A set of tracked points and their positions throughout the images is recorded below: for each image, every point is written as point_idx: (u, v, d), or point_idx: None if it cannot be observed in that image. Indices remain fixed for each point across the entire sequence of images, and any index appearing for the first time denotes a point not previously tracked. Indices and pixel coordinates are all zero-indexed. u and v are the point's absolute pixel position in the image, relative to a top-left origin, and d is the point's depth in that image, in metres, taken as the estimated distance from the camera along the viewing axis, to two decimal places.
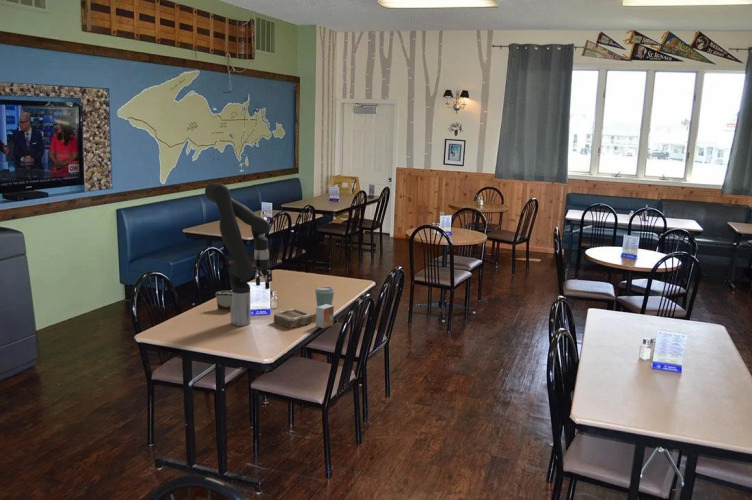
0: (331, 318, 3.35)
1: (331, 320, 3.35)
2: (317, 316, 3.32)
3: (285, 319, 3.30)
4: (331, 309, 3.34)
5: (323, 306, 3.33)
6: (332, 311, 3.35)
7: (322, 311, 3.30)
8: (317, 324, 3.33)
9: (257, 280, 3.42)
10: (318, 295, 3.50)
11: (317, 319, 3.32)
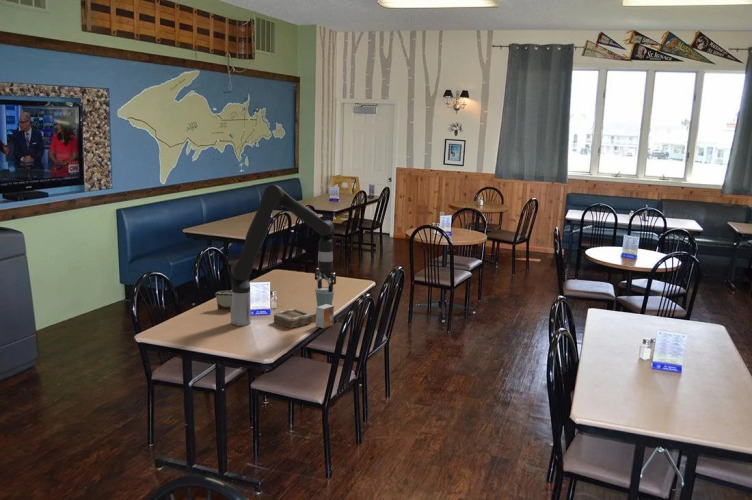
0: (331, 318, 3.35)
1: (331, 320, 3.35)
2: (317, 316, 3.32)
3: (285, 319, 3.30)
4: (331, 309, 3.34)
5: (323, 306, 3.33)
6: (332, 311, 3.35)
7: (322, 311, 3.30)
8: (317, 324, 3.33)
9: (319, 283, 3.34)
10: (318, 295, 3.50)
11: (317, 319, 3.32)
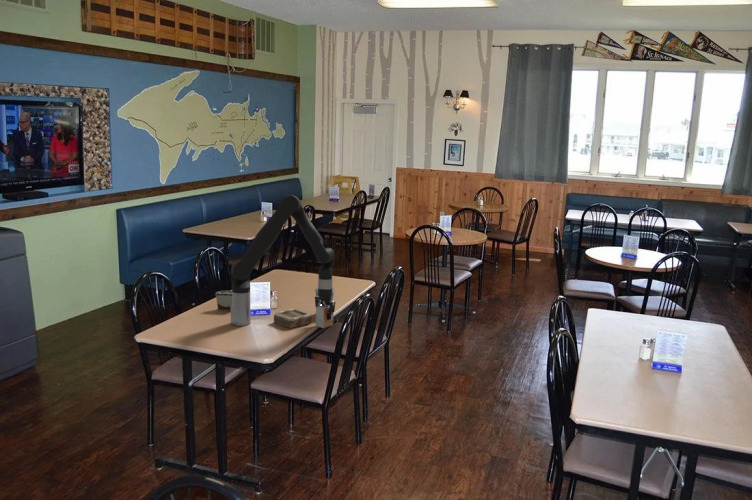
0: (331, 318, 3.35)
1: (331, 320, 3.35)
2: (317, 316, 3.32)
3: (285, 319, 3.30)
4: None
5: (323, 306, 3.33)
6: None
7: (322, 310, 3.30)
8: (317, 324, 3.33)
9: None
10: None
11: (317, 319, 3.32)
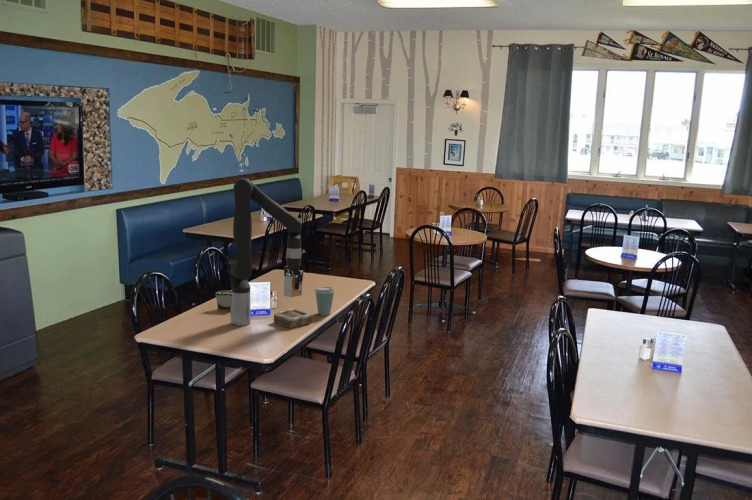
0: (300, 288, 3.35)
1: (299, 290, 3.35)
2: (285, 285, 3.32)
3: (285, 319, 3.30)
4: None
5: (291, 275, 3.33)
6: None
7: (290, 280, 3.29)
8: (285, 293, 3.32)
9: None
10: (318, 295, 3.50)
11: (285, 289, 3.32)
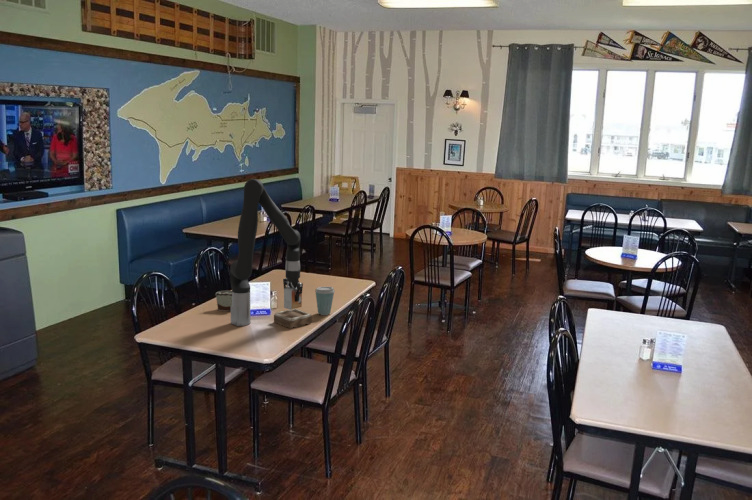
0: (300, 300, 3.36)
1: (299, 302, 3.36)
2: (285, 298, 3.33)
3: (285, 319, 3.30)
4: None
5: (291, 288, 3.34)
6: None
7: (289, 292, 3.31)
8: (285, 306, 3.34)
9: None
10: (318, 295, 3.50)
11: (285, 301, 3.34)
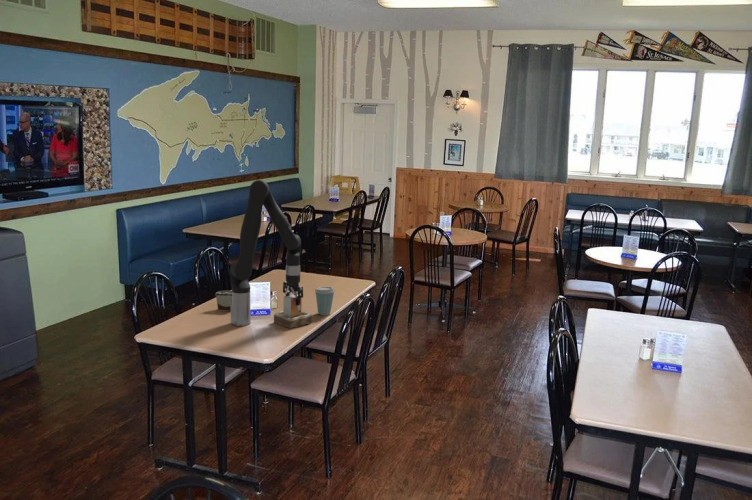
0: (299, 308, 3.37)
1: (299, 310, 3.37)
2: (285, 306, 3.34)
3: (285, 319, 3.30)
4: None
5: (291, 296, 3.35)
6: (300, 301, 3.37)
7: (289, 300, 3.32)
8: (285, 314, 3.35)
9: None
10: (318, 295, 3.50)
11: (284, 309, 3.35)
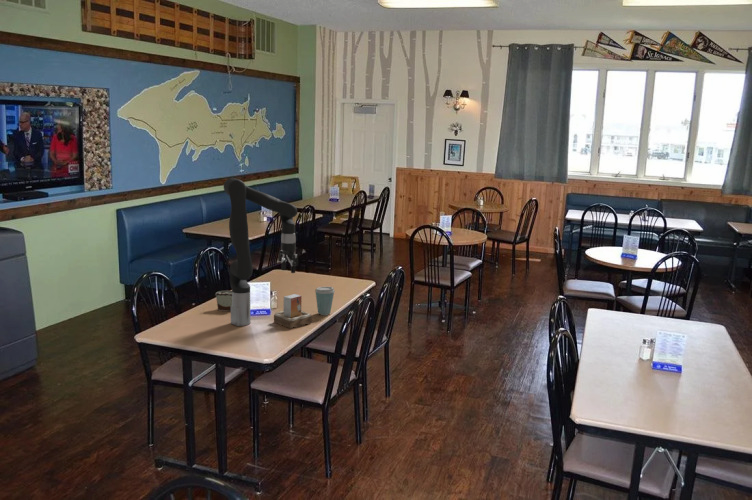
0: (299, 308, 3.37)
1: (299, 310, 3.37)
2: (285, 306, 3.34)
3: (285, 319, 3.30)
4: (299, 299, 3.36)
5: (291, 296, 3.35)
6: (300, 301, 3.37)
7: (289, 300, 3.32)
8: (285, 314, 3.35)
9: (283, 264, 3.44)
10: (318, 295, 3.50)
11: (284, 309, 3.35)
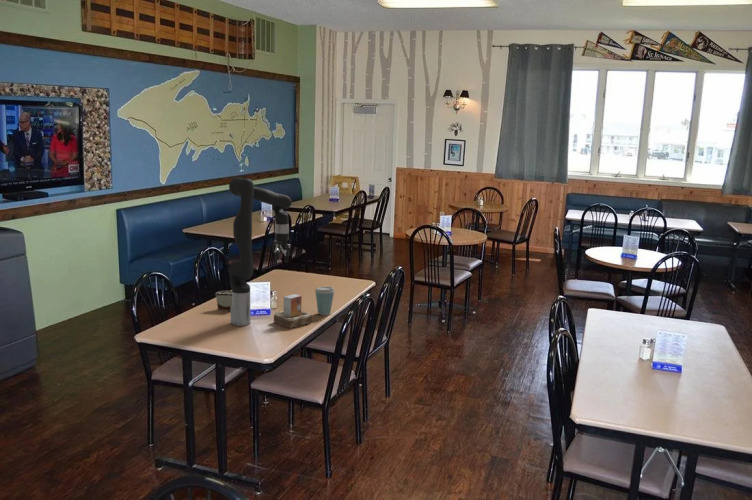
0: (299, 308, 3.37)
1: (299, 310, 3.37)
2: (285, 306, 3.34)
3: (285, 319, 3.30)
4: (299, 299, 3.36)
5: (291, 296, 3.35)
6: (300, 301, 3.37)
7: (289, 300, 3.32)
8: (285, 314, 3.35)
9: (276, 254, 3.56)
10: (318, 295, 3.50)
11: (284, 309, 3.35)
